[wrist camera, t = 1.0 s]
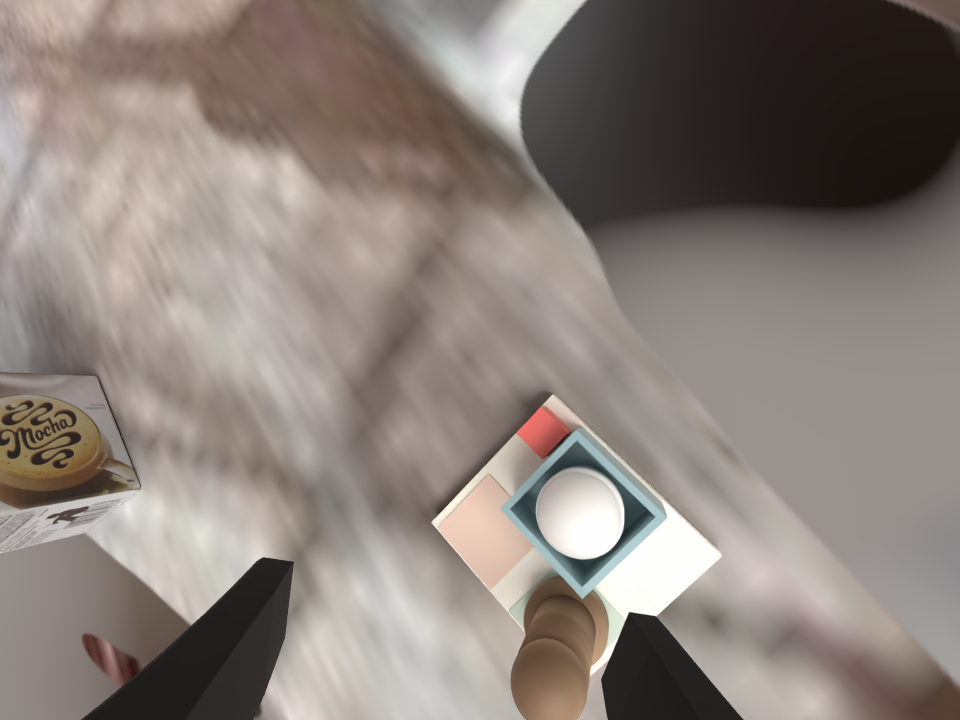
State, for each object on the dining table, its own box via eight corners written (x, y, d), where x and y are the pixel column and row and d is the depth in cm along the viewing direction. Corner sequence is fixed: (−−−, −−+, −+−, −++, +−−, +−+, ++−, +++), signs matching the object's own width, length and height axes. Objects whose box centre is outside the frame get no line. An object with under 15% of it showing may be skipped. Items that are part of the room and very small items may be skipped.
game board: (718, 550, 20) (730, 569, 18) (576, 680, 21) (570, 714, 19) (554, 394, 22) (546, 393, 20) (437, 518, 24) (417, 530, 21)
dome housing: (662, 502, 20) (667, 517, 17) (588, 573, 21) (582, 599, 18) (582, 426, 21) (576, 429, 19) (515, 495, 22) (499, 508, 19)
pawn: (626, 625, 20) (626, 721, 14) (568, 679, 20) (544, 793, 14) (565, 559, 21) (539, 621, 15) (511, 611, 21) (465, 692, 15)
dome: (642, 508, 19) (645, 528, 16) (584, 564, 19) (576, 594, 16) (580, 447, 20) (572, 455, 17) (526, 502, 20) (509, 520, 17)
